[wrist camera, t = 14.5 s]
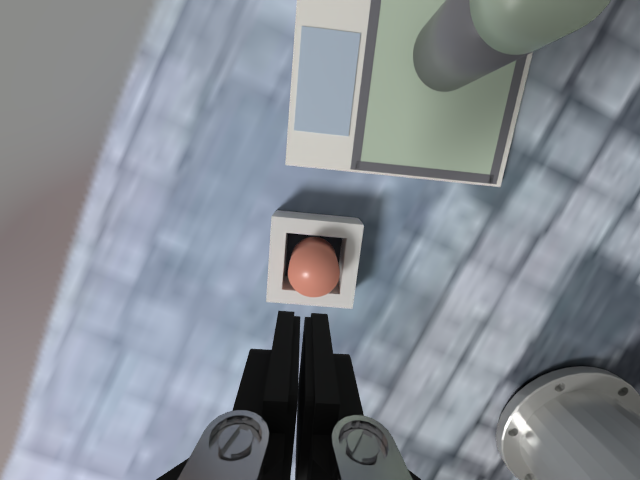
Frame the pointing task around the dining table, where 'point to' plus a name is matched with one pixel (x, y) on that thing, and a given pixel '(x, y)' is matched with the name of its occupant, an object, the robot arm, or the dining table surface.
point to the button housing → (319, 226)
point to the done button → (313, 267)
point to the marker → (492, 36)
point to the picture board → (392, 98)
